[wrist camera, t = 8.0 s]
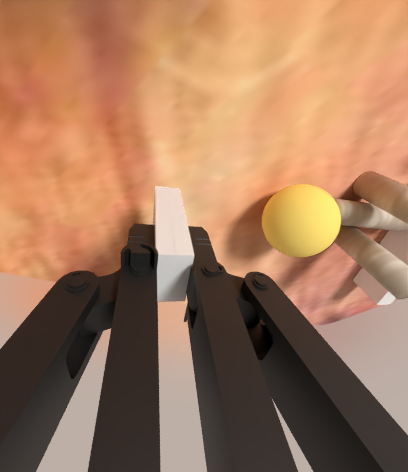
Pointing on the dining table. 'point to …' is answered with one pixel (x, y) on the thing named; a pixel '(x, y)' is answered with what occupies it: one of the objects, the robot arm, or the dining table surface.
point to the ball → (301, 220)
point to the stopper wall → (401, 246)
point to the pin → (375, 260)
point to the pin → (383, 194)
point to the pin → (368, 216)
